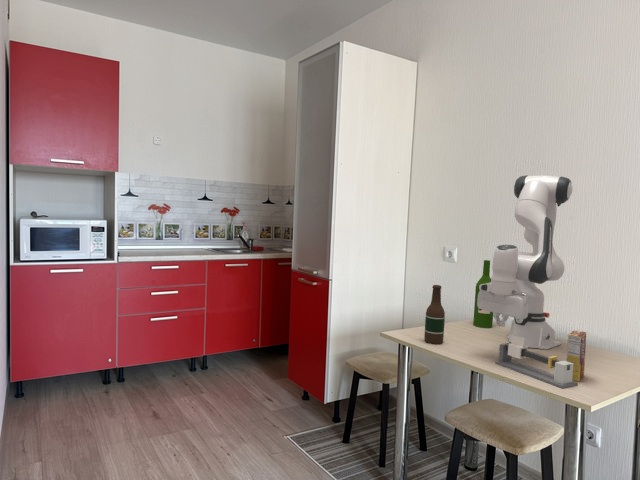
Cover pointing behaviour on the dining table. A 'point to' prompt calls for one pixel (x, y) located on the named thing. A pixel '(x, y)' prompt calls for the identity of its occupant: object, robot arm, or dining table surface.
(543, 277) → the robot arm
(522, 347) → the white rectangular block
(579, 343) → the candy box
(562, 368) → the linear slide rail
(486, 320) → the wine bottle
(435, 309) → the beer bottle
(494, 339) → the dining table surface
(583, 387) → the dining table surface
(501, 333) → the dining table surface
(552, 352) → the dining table surface
